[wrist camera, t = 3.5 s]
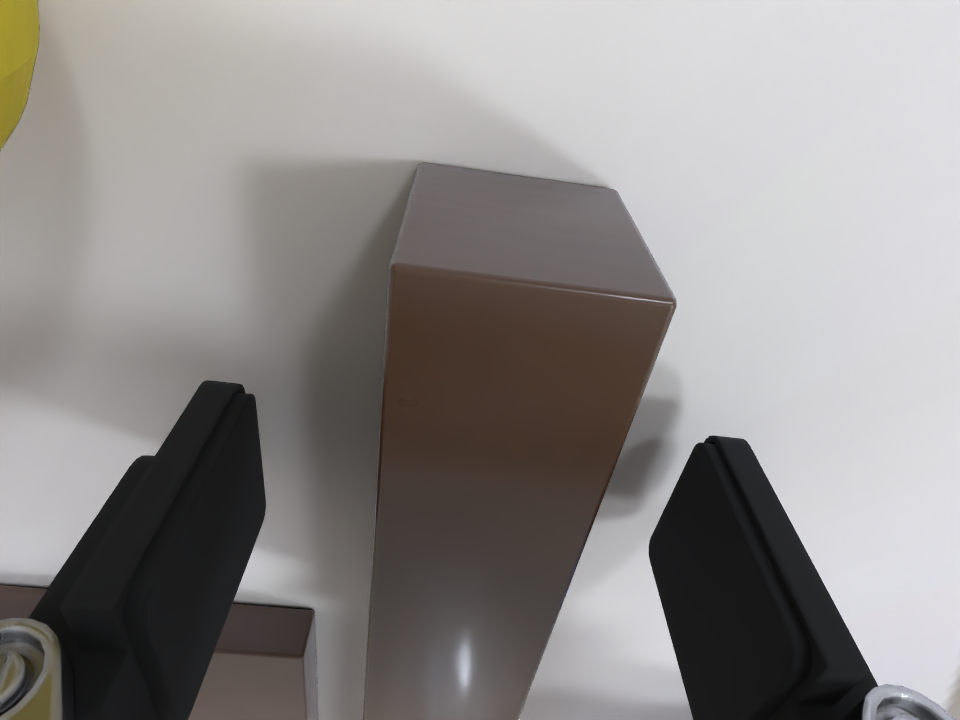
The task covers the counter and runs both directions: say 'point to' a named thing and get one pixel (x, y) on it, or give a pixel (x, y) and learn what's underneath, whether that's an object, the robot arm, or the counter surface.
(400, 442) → the knife
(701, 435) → the counter surface
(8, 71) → the lemon
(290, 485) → the counter surface
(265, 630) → the board
